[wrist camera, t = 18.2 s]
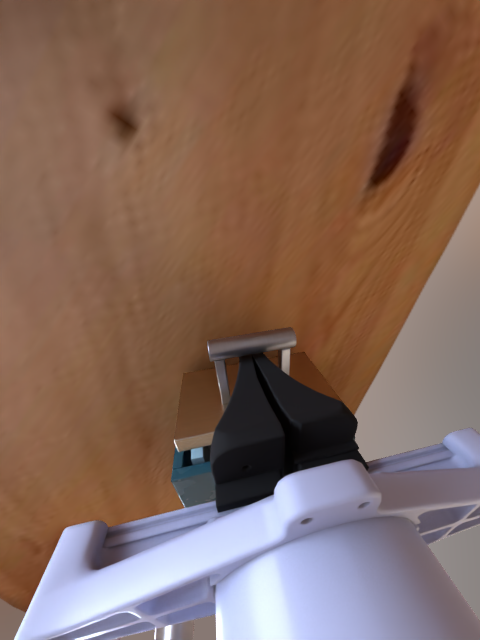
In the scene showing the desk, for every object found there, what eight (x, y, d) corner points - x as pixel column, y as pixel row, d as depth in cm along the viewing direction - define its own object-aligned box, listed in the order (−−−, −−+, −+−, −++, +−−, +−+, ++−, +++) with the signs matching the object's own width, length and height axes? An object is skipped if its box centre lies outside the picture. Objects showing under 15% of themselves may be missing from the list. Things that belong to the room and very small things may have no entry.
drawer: (167, 321, 14) (146, 378, 9) (308, 300, 15) (361, 339, 10) (204, 445, 20) (204, 515, 16) (297, 424, 22) (325, 484, 17)
